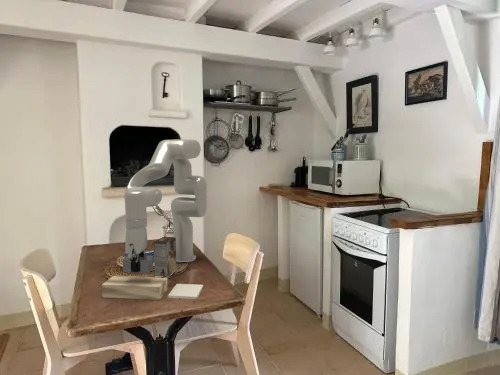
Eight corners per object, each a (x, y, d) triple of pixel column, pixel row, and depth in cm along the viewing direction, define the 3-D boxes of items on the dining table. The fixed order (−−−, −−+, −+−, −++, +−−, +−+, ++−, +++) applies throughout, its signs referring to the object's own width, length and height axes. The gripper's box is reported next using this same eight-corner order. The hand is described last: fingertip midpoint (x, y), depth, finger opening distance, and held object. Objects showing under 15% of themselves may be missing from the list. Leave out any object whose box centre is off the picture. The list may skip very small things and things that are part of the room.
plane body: (114, 287, 135) (113, 275, 135) (167, 289, 133) (167, 277, 133) (102, 297, 126) (102, 284, 126) (159, 300, 124) (159, 287, 124)
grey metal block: (128, 267, 132) (128, 255, 131) (153, 268, 131) (153, 255, 131) (123, 272, 127) (122, 259, 126) (148, 273, 126) (148, 260, 126)
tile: (176, 286, 137) (176, 283, 137) (203, 287, 136) (203, 284, 136) (168, 297, 126) (167, 295, 126) (196, 299, 125) (196, 296, 125)
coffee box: (163, 270, 154) (163, 236, 152) (176, 271, 153) (176, 237, 151) (154, 278, 145) (153, 241, 143) (168, 279, 144) (167, 242, 142)
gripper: (136, 217, 135) (138, 260, 138) (116, 228, 118) (118, 277, 121) (154, 217, 135) (156, 261, 137) (136, 228, 118) (138, 278, 120)
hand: (138, 268), depth 129 cm, fingers closed on grey metal block, 5 cm apart
